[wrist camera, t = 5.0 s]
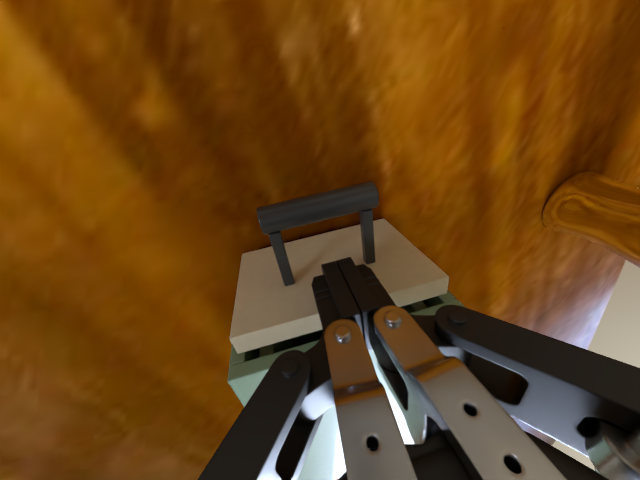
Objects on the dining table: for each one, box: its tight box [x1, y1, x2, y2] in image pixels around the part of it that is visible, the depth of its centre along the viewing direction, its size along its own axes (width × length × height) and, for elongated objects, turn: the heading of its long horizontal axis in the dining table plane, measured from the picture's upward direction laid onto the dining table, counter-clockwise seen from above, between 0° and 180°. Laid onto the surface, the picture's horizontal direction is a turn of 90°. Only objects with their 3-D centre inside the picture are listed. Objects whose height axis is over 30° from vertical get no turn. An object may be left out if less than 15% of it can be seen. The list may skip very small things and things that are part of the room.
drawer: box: [230, 181, 449, 357], centre depth 18 cm, size 20×11×8 cm, turn 10°
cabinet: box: [228, 290, 466, 480], centre depth 20 cm, size 17×13×10 cm
